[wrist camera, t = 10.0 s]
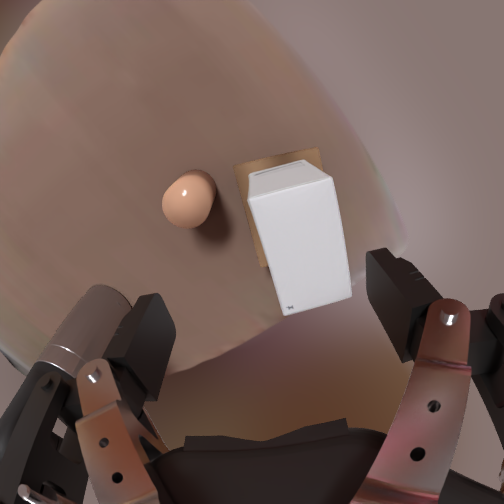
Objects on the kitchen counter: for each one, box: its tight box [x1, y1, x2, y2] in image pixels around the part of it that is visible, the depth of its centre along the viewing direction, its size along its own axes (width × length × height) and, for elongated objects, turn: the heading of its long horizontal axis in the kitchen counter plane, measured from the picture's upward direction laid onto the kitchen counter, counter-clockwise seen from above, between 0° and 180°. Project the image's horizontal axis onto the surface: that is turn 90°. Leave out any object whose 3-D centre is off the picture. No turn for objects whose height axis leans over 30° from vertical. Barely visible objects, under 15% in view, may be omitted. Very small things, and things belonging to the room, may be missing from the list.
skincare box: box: [247, 160, 352, 316], centre depth 25 cm, size 10×6×10 cm, turn 17°
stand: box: [233, 147, 323, 267], centre depth 31 cm, size 9×12×4 cm
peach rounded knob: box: [162, 170, 216, 228], centre depth 30 cm, size 5×5×6 cm
